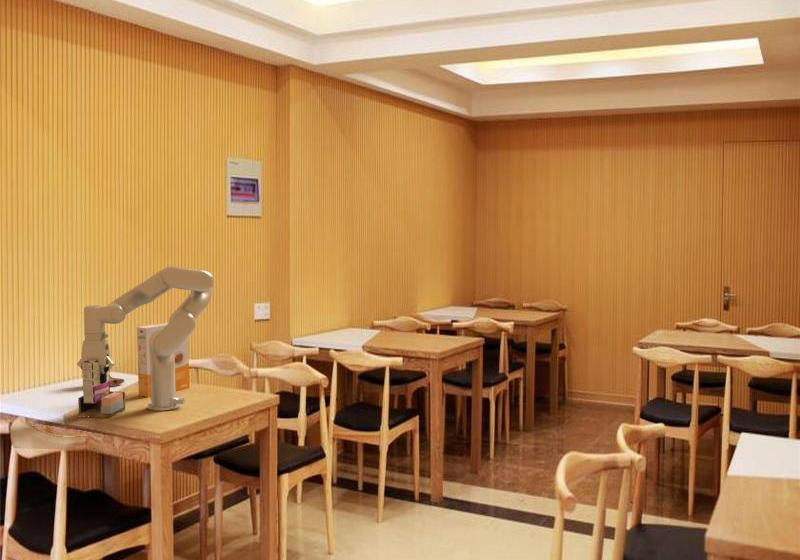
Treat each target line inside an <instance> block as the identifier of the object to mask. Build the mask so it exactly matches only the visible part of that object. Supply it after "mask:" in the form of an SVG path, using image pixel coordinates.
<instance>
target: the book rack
mask: <svg viewBox="0 0 800 560" xmlns="http://www.w3.org/2000/svg"><path fill="white" fill-rule="evenodd" d="M77 401H78V403H77V404H78V413H77V417H78V416H81V417H80V418H83V417H82V416H85V417H84V418H91V417H111V418H113V417H115V416H116V415H115V414H117V413H119V412H121V411H123V410H125V411H126V392H125V391H118V390H117V391H114V390H113V391H111V390H110V394H109V395H107V396H105V397H103V398H101V401H100V402H97V403H95V404H92V403H84V396H83V395H82V396H80V397H78V399H77ZM123 412H124V411H123ZM121 413H122V412H121ZM119 414H120V413H119ZM114 415H115V416H114ZM117 415H118V414H117ZM88 416H89V417H88ZM112 416H113V417H112Z"/></svg>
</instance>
